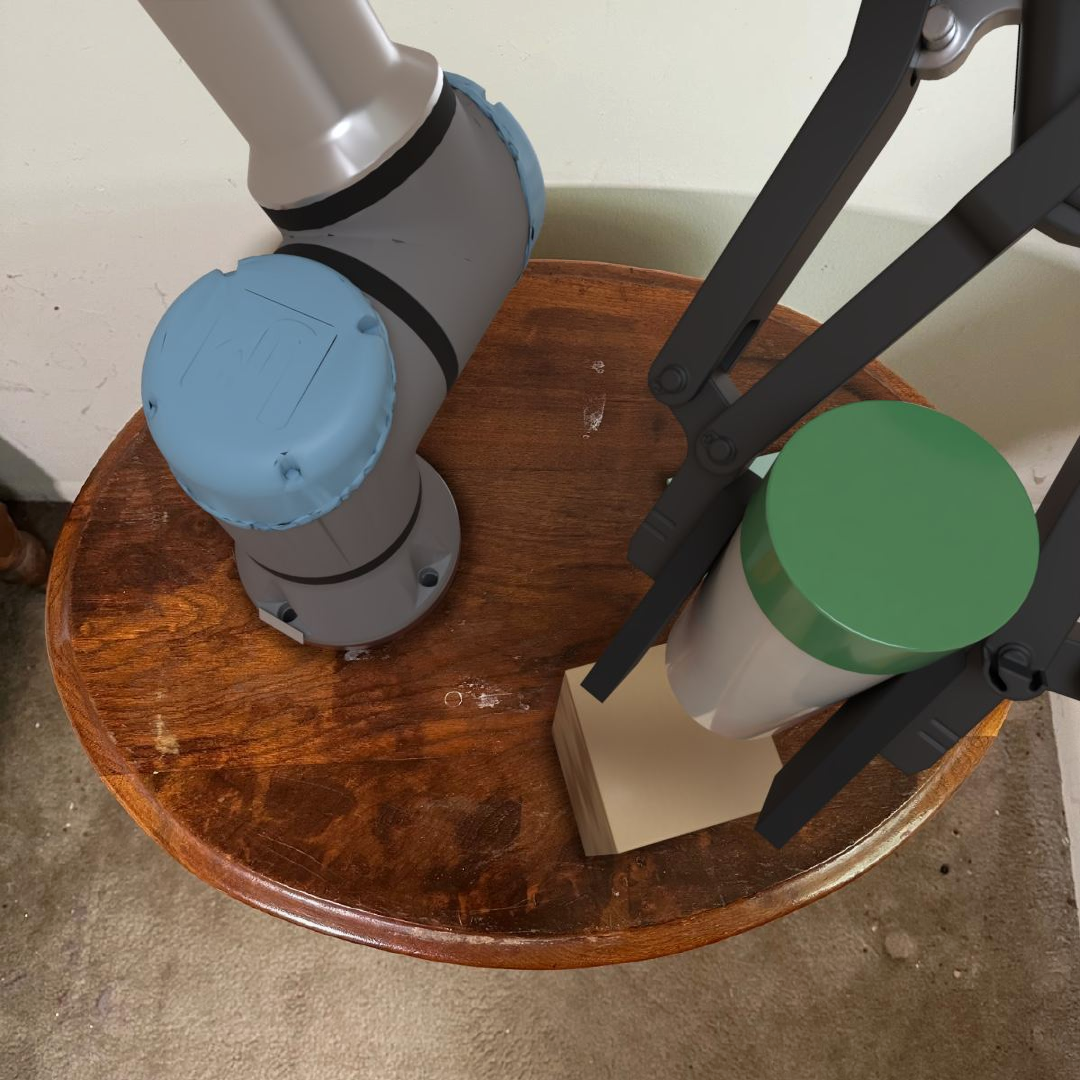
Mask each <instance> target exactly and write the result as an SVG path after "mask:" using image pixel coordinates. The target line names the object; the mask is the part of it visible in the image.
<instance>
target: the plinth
mask: <svg viewBox="0 0 1080 1080" xmlns="http://www.w3.org/2000/svg"><path fill="white" fill-rule="evenodd" d="M666 644H667V642H666V643H663V644H659V645H654V646H651V647H650V649H649V650H648V651H647V653H646V654H645V655H644V656H643V658H642V659H641V660H640V662H639V663H638V664H637V665H636V667H635V668H634V669H633V670H632V671H631V672H630V673H629V674H628V676H627V677H626V678H625V679H624V680H623V681H622V682H621V683H620V684H619V686H618V687H617V688H616V689H615V690H614V691H613V692H612V693H611V694H610V696H609V697H608V698H607V699H606V700H605V701H604V702H603V703H601V702H600V701H598V700H597V699H596V698H595V697H594V696H592V695H591V694H590V693H589V692H588V691H586V690H585V689H584V688H583V687H582V686H580V684H581V682H582V681H583V680H584V678H585V677H586V676H587V674H588V673H589V672H590V670H591V669H592V667H593V666H594V665H595V663H596V662H597V661H595V662H591V663H588V664H584V665H581V666H577V667H573V668H569V669H566V670H565V671H564V674H563V679H562V681H561V682H562V683H561V688H560V691H559V696H558V699H557V704H556V709H555V713H554V717H553V721H552V726H551V729H550V730H551V735H552V738H553V742H554V745H555V749H556V753H557V756H558V760H559V764H560V767H561V770H562V775H563V778H564V783H565V785H566V789H567V793H568V796H569V799H570V804H571V807H572V811H573V815H574V818H575V822H576V825H577V828H578V833H579V836H580V840H581V844H582V848H583V850H584V854H585V857H593V856H607V855H616V854H623V853H626V852H629V851H632V850H636V849H639V848H642V847H645V846H649V845H652V844H656V843H659V842H663V841H666V840H669V839H673V838H676V837H679V836H683V835H686V834H690V833H693V832H696V831H699V830H704V829H707V828H709V827H710V828H711V827H713V826H716V825H720V824H723V823H726V822H730V821H733V820H736V819H740V818H743V817H747V816H750V815H753V814H756V813H760V812H761V810H762V807H763V804H764V802H765V799H766V797H767V794H768V792H769V789H770V787H771V784H772V781H773V779H774V776H775V775H776V774H777V773H778V772H779V771H780V770H781V768H782V767H783V766H784V765H783V763H782V760H781V757H780V755H779V752H778V750H777V747H776V744H775V741H774V738H773V735H772V736H769V737H766V738H761V739H754V740H741V739H734V738H729V737H725V736H722V735H719V734H717V733H714V732H712V731H710V730H708V729H707V728H705V727H704V726H702V725H701V724H699V723H698V722H697V721H695V720H694V719H693V718H692V717H691V716H690V715H689V714H688V713H687V712H686V711H685V710H684V709H683V707H682V706H681V705H680V703H679V702H678V700H677V699H676V697H675V695H674V693H673V691H672V689H671V686H670V684H669V681H668V677H667V673H666V665H665V651H666Z"/></svg>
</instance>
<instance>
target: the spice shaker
mask: <svg viewBox="0 0 1080 1080" xmlns="http://www.w3.org/2000/svg"><path fill="white" fill-rule="evenodd" d="M778 452H779V454H778V456H777V457H776V459H775V460H774V462H773V463H772V465H771V467H770V468H769V470H768V471H767V473H766V475H765V476H764V478H763V479H762V481H761V482H760V484H759V486H758V487H757V489H756V490H755V492H754V493H753V495H752V497H751V499H750V501H749V503H748V505H747V508H746V510H745V514H744V517H743V519H742V521H741V522H740V524H739V525H738V527H737V528H736V530H735V531H734V533H733V534H732V536H731V537H730V539H729V541H728V542H727V544H726V545H725V547H724V548H723V550H722V551H721V553H720V554H719V556H718V557H717V559H716V561H715V562H714V564H713V565H712V567H711V568H710V570H709V571H708V573H707V574H706V576H705V577H704V579H703V580H701V582H700V583H699V584H698V586H697V587H696V589H695V590H694V592H693V593H692V595H691V596H690V598H689V600H688V601H687V603H686V605H685V606H684V608H683V609H682V611H681V613H680V614H679V615H678V617H677V619H676V620H675V622H673V623H674V624H673V625H672V626H671V630H670V632H669V634H668V637H667V641H666V643H667V644H666V643H665V644H666V651H665V665H666V673H667V677H668V681H669V684H670V686H671V689H672V691H673V693H674V695H675V697H676V699H677V700H678V702H679V703H680V705H681V706H682V707H683V709H684V710H685V711H686V712H687V713H688V714H689V715H690V716H691V717H692V718H693V719H694V720H695V721H697V722H698V723H699V724H701V725H702V726H704V727H705V728H707V729H708V730H710V731H712V732H714V733H717V734H719V735H722V736H725V737H729V738H734V739H741V740H754V739H761V738H766V737H769V736H772V737H773V736H775V735H778V734H779V733H781V732H784V731H785V730H788V729H790V728H792V727H794V726H795V725H798V724H800V723H802V722H804V721H806V720H808V719H810V718H812V717H814V716H816V715H818V714H821V713H822V712H825V711H826V710H828V709H830V708H832V707H835V706H836V705H838V704H840V703H842V702H846V700H847V699H849V698H851V697H853V696H855V695H857V694H859V693H861V692H863V691H865V690H867V689H869V688H871V687H873V686H875V685H877V684H879V683H881V682H883V681H885V680H887V679H889V678H891V677H893V676H895V675H897V674H900V673H905V672H910V671H914V670H917V669H920V668H922V667H925V666H928V665H930V664H932V663H934V662H936V661H938V660H940V659H942V658H945V657H947V656H949V655H951V654H953V653H955V652H957V651H959V650H961V649H963V648H966V647H968V646H970V645H972V644H974V643H976V642H978V641H980V640H982V639H984V638H986V637H987V636H989V635H991V634H993V633H994V632H995V631H997V630H998V629H999V628H1001V627H1002V626H1003V625H1005V624H1006V623H1007V622H1008V621H1009V620H1010V619H1011V618H1012V617H1013V616H1014V615H1015V613H1016V612H1017V611H1018V610H1019V608H1020V607H1021V605H1022V604H1023V602H1024V601H1025V599H1026V597H1027V595H1028V593H1029V591H1030V589H1031V587H1032V585H1033V582H1034V578H1035V575H1036V571H1037V567H1038V559H1039V532H1038V526H1037V520H1036V516H1035V513H1036V512H1035V510H1034V507H1033V504H1032V501H1031V498H1030V496H1029V495H1028V492H1027V490H1026V487H1025V486H1024V484H1023V483H1022V481H1021V479H1020V477H1019V475H1018V474H1017V473H1016V471H1015V470H1014V468H1013V467H1012V466H1011V464H1010V463H1009V462H1008V461H1007V459H1006V458H1005V457H1004V456H1003V455H1002V454H1001V453H1000V452H999V451H998V450H997V448H995V447H994V445H993V444H992V443H990V442H989V441H988V440H987V439H985V437H983V436H982V435H981V434H980V433H978V432H977V431H975V430H974V429H972V428H971V427H970V426H968V425H967V424H965V423H963V422H961V421H960V420H958V419H956V418H954V417H952V416H950V415H948V414H946V413H943V412H941V411H939V410H936V409H933V408H931V407H927V406H925V405H921V404H917V403H912V402H907V401H902V400H893V399H892V400H890V399H871V400H870V399H868V400H861V401H854V402H849V403H846V404H843V405H838V406H835V407H833V408H830V409H828V410H825V411H824V412H822V413H820V414H818V415H816V416H814V417H813V418H811V419H810V420H808V421H807V422H805V423H804V424H802V426H801V427H799V428H798V429H796V431H794V433H792V435H790V437H789V438H788V440H787V441H786V442H785V443H784V445H783V446H782V448H781V449H780V451H778Z"/></svg>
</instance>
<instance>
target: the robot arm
mask: <svg viewBox="0 0 1080 1080" xmlns="http://www.w3.org/2000/svg"><path fill="white" fill-rule="evenodd" d="M137 2H138V3H139V4H140V6H141V7H142V8H143V10H144V11H145V12H146V14H147V15H148V16H149V18H151V20H152V21H153V22H154V24H155V25H156V26H157V28H158V30H160V31H161V33H162V34H163V36H165V38H166V39H167V41H168V42H169V43H170V44H171V46H172V47H173V48H174V50H175V51H176V52H177V54H178V55H179V56H180V57H181V59H182V60H183V61H184V62H185V64H186V65H187V66H188V68H189V69H190V70H191V72H192V73H193V74H194V75H195V76H196V78H197V80H198V81H199V82H200V83H201V84H202V85H203V87H204V88H205V90H206V91H207V92H208V94H209V95H210V96H211V97H212V98H213V100H214V101H215V103H216V104H217V105H218V106H219V108H221V110H222V112H223V113H224V114H225V115H226V117H227V118H228V120H230V122H231V123H232V124H233V126H234V127H235V128H236V130H237V131H238V132H239V134H241V136H242V137H243V139H244V140H245V141H246V142H247V144H248V146H249V153H248V165H247V175H246V176H247V177H246V184H247V189H248V192H249V194H250V195H251V196H252V198H253V199H254V201H255V202H256V203H257V205H258V206H259V207H260V208H261V209H262V211H263V212H264V214H266V215H267V217H268V218H269V219H270V221H271V222H272V223H273V225H274V226H275V227H276V229H278V231H279V233H280V234H281V236H282V241H280V243H279V245H278V246H277V248H276V249H275V250H274V251H273V253H271V254H269V253H267V254H260V255H251V256H248V257H244V258H241V259H238V260H237V267H236V269H234V270H231V271H227V272H223V271H222V270H221V269H220V268H215V269H213V270H210V271H209V272H207V273H205V274H204V275H202V276H201V277H199V278H197V279H196V280H195V281H194V282H192V283H191V284H190V285H189V286H187V287H186V288H185V289H184V290H183V291H182V292H181V293H180V294H179V295H178V296H177V297H176V298H175V299H174V300H173V301H172V303H171V304H170V305H169V306H168V308H167V309H166V311H165V312H164V313H163V315H162V316H161V318H160V320H159V321H158V323H157V324H156V327H155V328H154V330H153V333H152V335H151V336H150V339H149V341H148V345H147V347H146V351H145V355H144V359H143V364H142V369H141V379H140V380H141V381H140V392H141V393H140V394H141V396H140V397H141V403H142V409H143V413H144V416H145V419H146V424H147V427H148V429H149V432H150V435H151V437H152V439H153V442H154V443H155V445H156V446H157V448H158V450H159V451H160V453H161V455H162V456H163V458H164V460H165V461H166V462H167V465H168V467H169V469H170V472H171V473H172V474H173V477H174V478H175V480H176V481H177V482H178V484H179V485H180V487H181V488H182V489H183V491H184V492H185V493H186V494H187V495H188V496H189V497H190V498H191V500H192V501H194V502H195V504H197V505H198V506H199V507H200V508H201V509H202V510H204V511H205V512H207V513H208V514H210V515H211V516H212V518H214V520H215V521H216V522H217V523H219V526H221V527H222V528H223V529H224V530H225V532H226V533H228V535H229V536H230V537H231V538H232V540H234V555H235V563H236V568H237V572H238V575H239V579H240V582H241V584H242V586H243V588H244V591H245V593H246V594H247V596H248V599H249V600H250V602H251V603H252V604H253V605H254V606H255V608H256V609H257V610H258V614H259V615H258V617H259V620H261V621H262V622H265V624H268V625H269V626H271V627H273V628H275V629H276V630H278V631H280V632H281V633H283V634H285V635H286V636H288V637H289V638H292V639H293V640H294V641H296V642H298V643H299V644H302V645H304V644H305V645H308V646H311V647H315V648H318V649H324V650H331V651H356V650H365V649H369V648H374V647H377V646H381V645H385V644H387V643H389V642H391V641H394V640H396V639H398V638H400V637H402V636H404V635H406V634H407V633H409V632H410V631H412V630H414V629H415V628H416V627H417V626H419V625H420V624H422V623H423V622H424V621H425V620H426V619H427V618H428V617H429V616H430V615H431V614H433V612H434V611H435V610H436V609H437V607H438V606H439V605H440V604H441V603H442V601H443V600H444V598H445V597H446V595H447V594H448V592H449V590H450V589H451V586H452V584H453V582H454V579H455V578H456V575H457V572H458V568H459V565H460V560H461V554H462V529H461V523H460V518H459V512H458V508H457V506H456V502H455V499H454V497H453V495H452V493H451V491H450V489H449V487H448V485H447V484H446V482H445V481H444V480H443V478H442V477H441V475H440V474H439V472H437V471H436V470H435V468H434V467H433V466H432V465H431V464H430V463H429V462H427V460H425V459H424V458H423V457H422V456H420V455H419V454H417V453H416V452H417V450H418V447H419V446H420V442H421V441H422V439H423V437H424V436H425V434H426V433H427V430H428V429H429V427H430V426H431V424H432V422H433V420H434V419H435V417H436V415H437V413H438V411H439V410H440V408H441V407H442V405H443V403H444V401H445V399H446V397H447V396H448V394H449V392H450V391H451V389H452V387H453V386H454V384H456V382H457V380H458V379H459V377H460V375H461V373H462V372H463V370H464V369H465V367H466V365H467V364H468V362H469V360H470V359H471V357H472V355H473V354H474V352H475V350H476V348H477V347H478V346H479V343H480V342H481V340H482V339H483V337H484V335H486V332H487V331H488V329H489V327H490V325H491V324H492V322H493V321H494V320H495V317H496V315H497V314H498V312H499V311H500V309H501V308H502V305H503V304H504V302H505V301H506V299H507V297H508V296H509V294H510V292H511V291H512V290H513V289H514V288H515V287H516V286H517V284H518V283H519V281H520V280H521V279H522V276H523V273H524V271H525V270H526V268H527V267H528V263H529V261H530V257H531V254H532V251H533V248H534V246H535V244H536V242H537V240H538V238H539V236H540V234H541V230H542V228H543V225H544V219H545V214H546V199H547V198H546V186H545V179H544V175H543V171H542V168H541V164H540V160H539V158H538V156H537V152H536V151H535V149H534V146H533V144H532V142H531V140H530V139H529V136H528V134H527V133H526V131H525V129H524V128H523V127H522V125H521V124H520V122H519V121H518V120H517V119H516V116H514V115H513V113H512V112H511V111H510V110H509V108H508V107H506V105H505V104H503V103H502V101H497V102H496V103H495V104H493V103H491V102H490V101H488V99H487V97H486V96H487V95H486V88H484V87H482V86H481V85H480V84H478V83H477V82H476V81H474V80H472V79H470V78H468V77H465V76H464V75H461V74H458V73H454V72H450V71H446V70H443V69H442V66H441V63H439V61H438V59H437V58H436V57H435V56H434V54H432V53H431V52H428V51H427V50H424V49H420V48H416V47H413V46H409V45H405V44H402V43H399V42H395V41H393V40H391V38H390V37H389V35H388V33H387V31H386V29H385V28H384V26H383V24H382V22H381V20H380V19H379V17H378V15H377V14H376V11H375V10H374V8H373V7H372V5H371V3H370V1H369V0H137ZM1004 26H1018V27H1017V28H1018V29H1017V45H1016V59H1015V60H1016V61H1015V75H1014V90H1013V106H1012V107H1013V108H1012V109H1013V110H1012V121H1011V122H1012V123H1011V137H1010V138H1011V139H1010V140H1011V141H1010V151H1009V155H1008V156H1007V157H1006V158H1005V159H1003V161H1001V162H1000V163H999V164H998V165H997V166H996V167H995V168H993V169H992V170H991V171H990V172H989V173H988V174H987V175H985V176H984V178H982V179H981V180H980V181H979V182H977V184H975V185H974V187H972V188H971V189H970V190H969V191H968V192H967V193H966V194H965V195H963V196H962V197H961V199H959V200H958V201H957V202H956V203H955V204H954V206H953V207H952V208H951V209H950V210H948V212H947V213H946V214H945V215H944V216H942V217H941V219H939V220H938V221H937V222H936V223H935V224H934V225H933V226H931V227H930V228H929V229H928V230H927V231H926V232H925V233H924V234H923V235H921V236H920V237H919V238H918V239H917V240H916V241H915V242H913V243H912V244H911V245H910V246H909V247H908V248H907V249H906V250H904V251H903V252H902V253H901V254H900V255H899V256H898V257H897V258H895V259H894V260H893V261H892V262H891V263H890V264H889V265H888V266H886V268H884V269H883V270H882V271H881V272H879V273H878V274H877V275H876V276H875V277H874V278H873V279H872V280H870V281H869V282H868V283H867V284H866V285H865V286H863V288H862V289H861V290H859V291H858V292H857V293H856V294H855V295H853V296H852V297H851V298H850V299H849V300H848V301H847V302H846V303H844V305H842V306H841V307H840V308H838V309H837V311H835V312H834V313H833V314H832V315H831V316H830V317H829V318H828V319H826V320H825V321H824V322H823V323H822V324H821V325H820V326H819V327H818V328H816V329H815V330H814V331H813V332H812V333H811V334H809V336H807V337H806V338H805V339H804V340H803V341H802V342H801V343H799V344H798V345H797V346H796V347H795V348H794V349H793V350H791V351H790V352H789V353H788V354H787V355H786V356H785V357H784V358H783V359H781V360H780V361H779V362H778V363H777V364H776V365H774V366H773V367H772V368H771V369H770V370H769V371H767V372H766V374H764V375H763V376H762V377H761V378H760V379H759V380H757V382H755V383H754V384H753V385H752V386H751V387H749V388H748V389H747V390H746V391H745V392H744V393H743V394H741V393H740V391H739V390H738V388H737V387H736V385H735V384H734V383H733V381H732V379H731V378H730V377H729V375H730V374H731V372H732V371H733V369H735V366H736V365H737V363H738V362H739V360H740V359H741V357H742V356H743V355H744V353H745V351H746V350H747V349H748V348H749V346H750V344H752V342H753V340H754V338H755V337H756V336H757V334H758V333H759V331H760V329H761V328H762V327H763V326H764V324H765V322H766V321H767V319H768V318H769V316H771V314H772V312H773V311H774V310H775V307H777V305H778V303H779V302H780V301H781V299H782V298H783V296H784V294H786V292H787V290H788V289H789V287H790V286H791V284H792V283H793V282H794V280H795V278H796V277H797V276H798V274H799V273H800V271H801V270H802V268H803V267H804V266H805V264H806V263H807V261H808V259H809V258H810V257H811V255H812V254H813V252H814V251H815V249H816V248H817V247H818V245H819V243H820V242H821V241H822V239H823V238H824V237H825V235H826V233H827V232H828V230H829V229H830V228H831V226H832V224H833V223H834V221H835V220H836V218H837V217H838V215H839V214H840V213H841V211H842V210H843V208H844V207H845V205H846V204H847V202H848V201H849V200H850V198H851V197H852V195H853V194H854V192H855V191H856V189H857V188H858V187H859V185H860V183H861V182H862V181H863V179H864V178H865V177H866V175H867V173H868V172H869V170H870V169H871V167H872V166H873V164H874V163H875V161H876V160H877V159H878V157H879V156H880V154H881V153H882V151H883V150H884V148H885V147H886V146H887V144H888V143H889V141H890V140H891V138H892V137H893V135H894V133H895V132H896V130H897V129H898V127H899V126H900V123H901V122H902V121H903V119H904V117H905V116H906V114H907V112H908V110H909V108H910V105H911V103H912V102H913V99H914V98H915V96H916V93H917V92H918V89H919V86H920V83H921V81H929V82H930V81H940V80H942V79H946V78H948V77H950V76H951V75H953V74H954V73H956V72H957V71H958V70H959V69H960V68H961V67H962V66H963V65H964V64H965V62H967V59H968V58H969V56H970V54H971V53H972V51H973V50H974V47H975V46H976V45H977V43H978V42H980V40H981V39H983V37H984V36H986V35H987V34H989V33H991V32H992V31H994V30H996V29H999V28H1002V27H1004ZM1033 229H1035V230H1036V231H1038V232H1039V233H1041V234H1043V235H1044V236H1046V237H1048V238H1049V239H1051V240H1053V241H1055V242H1057V243H1058V244H1062V245H1067V246H1070V247H1074V248H1078V249H1080V0H861V2H860V5H859V9H858V12H857V15H856V19H855V23H854V26H853V29H852V34H851V36H850V40H849V44H848V47H847V51H846V54H845V56H844V58H843V60H842V61H841V63H840V64H839V66H838V68H837V69H836V71H835V72H834V74H833V76H832V77H831V79H830V81H829V82H828V83H827V85H826V87H825V88H824V90H823V92H822V93H821V94H820V96H819V97H818V99H817V101H816V103H815V104H814V105H813V107H812V109H811V111H810V112H809V114H808V115H807V117H806V118H805V120H804V121H803V123H802V125H801V127H800V128H799V130H798V131H797V133H796V134H795V136H794V137H793V139H792V141H791V142H790V144H789V145H788V147H787V148H786V150H785V152H784V153H783V155H782V156H781V158H780V160H779V161H778V163H777V164H776V166H775V168H774V169H773V170H772V172H771V174H770V175H769V177H768V178H767V181H766V182H765V183H764V185H763V187H762V189H761V190H760V191H759V193H758V195H757V196H756V198H755V200H754V201H753V202H752V204H751V206H750V207H749V209H748V211H747V212H746V214H745V215H744V217H743V219H742V220H741V222H740V223H739V224H738V227H737V228H736V230H735V231H734V233H733V234H732V236H731V238H730V239H729V241H728V243H727V244H726V245H725V247H724V249H723V250H722V252H721V253H720V255H719V256H718V258H717V259H716V262H715V263H714V264H713V266H712V268H711V270H710V271H709V273H707V276H706V278H705V279H704V281H703V282H702V283H701V285H700V286H699V289H698V290H697V291H696V293H695V295H694V297H693V298H692V300H691V301H690V303H689V305H688V306H687V308H686V309H685V311H684V312H683V314H682V316H681V317H680V318H679V320H678V322H677V323H676V324H675V326H674V328H673V330H672V331H671V333H670V335H669V336H668V338H667V340H666V341H665V343H664V344H663V346H662V347H661V349H660V350H659V352H658V354H657V355H656V357H655V358H654V360H653V362H652V363H651V364H650V368H649V370H648V373H647V386H648V389H649V392H650V395H651V396H652V397H653V398H654V399H655V400H656V401H657V402H658V403H660V404H662V405H664V406H667V407H668V409H669V410H670V411H671V414H673V415H672V416H674V418H675V420H677V422H678V423H679V425H680V427H681V428H682V430H683V432H684V434H685V438H686V446H687V447H686V448H687V450H686V454H685V458H684V460H683V462H682V464H681V465H680V466H679V468H678V470H677V471H676V472H675V474H674V476H672V477H671V478H672V480H671V481H670V483H669V484H668V485H666V487H665V489H664V490H663V491H662V493H661V495H660V496H659V497H658V498H657V501H656V502H655V503H654V505H653V506H652V507H651V509H650V510H649V512H648V513H647V515H646V516H645V518H644V519H643V521H642V522H641V524H640V525H639V527H638V528H637V529H636V531H634V534H633V535H632V537H631V538H630V540H629V544H628V550H627V555H626V561H628V562H629V563H630V564H631V565H632V566H634V567H636V568H637V569H638V570H640V572H642V573H643V574H645V575H646V576H647V577H648V578H649V579H651V580H652V581H654V582H653V584H652V585H651V586H650V587H649V589H648V591H647V592H646V593H645V594H644V596H643V597H642V599H641V600H640V601H639V603H638V604H637V606H636V607H635V608H634V610H633V611H632V612H631V614H630V615H629V616H628V618H627V619H626V620H625V622H624V623H623V625H622V626H621V627H620V629H619V630H618V632H617V633H616V635H615V636H614V637H613V638H612V640H611V641H610V643H608V646H607V647H606V648H605V650H604V651H603V652H602V654H601V655H600V656H599V658H598V659H597V661H595V662H596V663H595V662H594V663H595V665H594V666H593V667H592V669H591V670H590V672H589V673H588V674H587V676H586V677H585V678H584V680H583V681H582V682H581V684H580V686H582V687H583V688H584V689H585V690H586V691H588V692H589V693H590V694H591V695H592V696H594V697H595V698H596V699H597V700H598V701H600V702H601V703H603V702H604V701H605V700H606V699H607V698H608V697H609V696H610V694H611V693H612V692H613V691H614V690H615V689H616V688H617V687H618V686H619V684H620V683H621V682H622V681H623V680H624V679H625V678H626V677H627V676H628V674H629V673H630V672H631V671H632V670H633V669H634V668H635V667H636V665H637V664H638V663H639V662H640V660H641V659H642V658H643V656H644V655H645V654H646V653H647V651H648V650H649V649H650V648H651V647H653V645H654V644H655V643H656V641H657V639H658V638H659V637H660V636H661V634H662V633H663V632H664V630H665V629H666V628H667V626H668V625H669V624H670V622H672V620H673V618H674V617H675V616H676V615H677V613H678V612H679V611H680V610H681V609H682V607H683V606H684V605H685V603H686V601H688V599H689V598H690V597H691V596H692V595H693V593H694V592H695V591H696V589H697V588H698V586H699V585H700V583H701V582H702V579H703V578H704V577H705V575H706V574H707V573H708V571H709V570H710V568H711V567H712V565H713V564H714V562H715V561H716V559H717V557H718V556H719V554H720V553H721V551H722V550H723V548H724V547H725V545H726V544H727V542H728V541H729V539H730V537H731V536H732V534H733V533H734V531H735V530H736V528H737V527H738V525H739V524H740V522H741V521H742V519H743V517H744V514H745V510H746V508H747V505H748V503H749V501H750V499H751V497H752V495H753V493H754V492H755V490H756V489H757V487H758V486H759V484H760V482H761V481H762V479H763V478H761V477H760V476H759V475H757V474H756V473H754V472H753V471H752V470H750V469H749V467H750V466H751V465H752V463H753V462H754V460H755V459H756V458H757V457H759V456H761V454H762V453H764V452H765V451H766V450H768V448H770V447H771V446H772V445H773V444H775V443H776V442H777V441H778V440H779V439H780V438H782V437H783V436H784V435H785V434H786V433H788V432H789V431H790V430H791V429H793V428H794V427H795V426H797V424H799V423H800V422H801V421H802V420H804V419H805V418H806V417H807V416H809V415H810V413H812V412H813V411H814V410H815V409H817V408H818V407H820V405H822V404H823V403H824V402H825V401H827V400H828V399H829V398H830V397H831V396H832V395H834V394H835V393H836V392H837V391H838V390H840V389H841V388H842V387H843V386H845V385H846V384H847V383H849V381H851V380H852V379H853V378H854V377H855V376H857V375H858V374H859V373H860V372H861V371H863V370H864V369H865V368H866V367H867V366H869V365H870V364H871V363H872V362H873V361H875V360H876V359H877V358H878V357H880V356H881V355H882V354H883V353H884V352H886V351H887V350H888V349H889V348H890V347H892V346H893V345H894V344H895V343H897V342H898V341H899V340H901V338H902V337H904V336H905V335H906V334H907V333H909V332H910V331H911V330H912V329H914V328H915V327H916V326H917V325H918V324H920V322H922V321H923V320H924V319H925V318H927V317H928V316H929V315H930V314H931V313H933V312H934V311H935V310H936V309H938V307H940V306H941V305H943V304H944V303H945V302H946V301H948V300H949V299H950V298H951V297H952V296H954V295H955V294H956V293H957V292H958V291H960V289H962V288H963V287H964V286H965V285H966V284H968V283H969V282H970V281H972V280H973V279H974V278H975V277H976V276H977V275H979V274H980V273H981V272H982V271H984V270H985V269H986V268H987V267H989V265H991V264H992V263H993V262H994V261H996V260H997V259H998V258H999V257H1001V256H1002V255H1004V254H1005V253H1006V252H1007V251H1008V250H1009V249H1011V248H1012V247H1013V246H1014V245H1016V244H1017V243H1018V242H1019V241H1020V240H1021V239H1022V238H1024V237H1025V236H1027V234H1029V233H1030V232H1031V231H1032V230H1033ZM1034 513H1035V516H1036V520H1037V526H1038V532H1039V559H1038V567H1037V571H1036V575H1035V578H1034V582H1033V585H1032V587H1031V589H1030V591H1029V593H1028V595H1027V597H1026V599H1025V601H1024V602H1023V604H1022V605H1021V607H1020V608H1019V610H1018V611H1017V612H1016V613H1015V615H1014V616H1013V617H1012V618H1011V619H1010V620H1009V621H1008V622H1007V623H1006V624H1005V625H1003V626H1002V627H1001V628H999V629H998V630H997V631H995V632H994V633H993V634H991V635H989V636H987V637H986V638H984V639H982V640H980V641H978V642H976V643H974V644H972V645H970V646H968V647H966V648H963V649H961V650H959V651H957V652H955V653H953V654H951V655H949V656H947V657H945V658H942V659H940V660H938V661H936V662H934V663H932V664H930V665H928V666H925V667H922V668H920V669H917V670H914V671H910V672H905V673H900V674H897V675H895V676H893V677H891V678H889V679H887V680H885V681H883V682H881V683H879V684H877V685H875V686H873V687H871V688H869V689H867V690H865V691H863V692H861V693H859V694H857V695H855V696H853V697H851V698H849V699H847V700H845V701H844V702H843V703H842V704H841V705H840V707H839V708H838V709H837V710H836V711H835V712H834V713H833V714H832V715H831V716H830V717H829V718H828V719H827V720H826V721H825V722H824V723H823V724H822V725H821V726H820V728H818V730H817V731H816V732H815V733H813V735H812V736H811V737H810V738H809V739H808V740H807V741H806V742H805V743H804V744H803V745H802V746H801V748H799V749H798V751H797V752H795V754H794V755H793V756H792V757H791V758H790V759H789V760H788V761H787V762H786V763H785V764H784V765H783V767H782V768H781V770H780V771H779V772H778V773H777V774H776V775H775V776H774V779H773V781H772V784H771V787H770V789H769V792H768V794H767V797H766V799H765V802H764V804H763V807H762V810H761V811H760V812H759V814H758V817H757V820H756V823H755V825H754V828H753V830H754V831H755V832H756V833H757V834H759V835H760V836H761V837H762V838H763V839H765V840H766V842H768V843H769V844H771V845H772V846H773V847H774V848H775V849H777V850H778V851H780V850H781V849H782V848H783V847H784V846H785V845H786V844H787V843H788V842H789V841H790V840H792V838H793V837H795V836H796V835H797V834H798V832H800V831H801V830H802V829H803V828H804V827H805V826H806V825H807V824H808V823H809V822H810V821H811V820H812V819H813V818H814V817H815V816H816V815H817V814H818V813H820V811H822V809H823V808H825V806H827V804H828V803H830V802H831V800H832V799H833V798H835V796H837V795H838V794H839V793H840V792H841V791H842V790H843V788H845V787H846V786H847V785H848V784H849V783H850V782H851V781H852V780H853V779H854V778H855V777H856V776H857V775H858V774H859V773H860V772H861V771H862V770H864V769H865V767H867V765H868V764H869V763H870V762H872V760H874V758H876V757H877V756H878V755H879V756H881V757H882V758H883V759H884V760H885V761H887V762H888V763H889V764H891V766H893V767H895V768H896V769H897V770H899V771H900V772H901V773H902V774H904V775H905V776H906V777H910V776H912V775H916V774H918V773H921V772H923V771H926V770H929V769H932V767H934V765H935V764H936V763H937V762H938V761H940V760H941V759H942V758H943V757H944V756H945V755H946V754H947V753H948V752H949V751H951V750H952V749H953V748H954V747H955V746H956V745H958V744H959V742H960V740H961V739H964V738H965V737H966V736H967V735H968V734H969V733H970V732H972V730H973V729H974V728H976V726H978V725H980V723H981V722H982V721H983V720H984V719H985V718H987V716H989V715H990V714H991V713H992V712H993V711H994V710H995V709H996V708H998V706H999V705H1000V704H1001V703H1003V702H1004V701H1005V700H1009V701H1012V702H1028V701H1031V700H1033V699H1035V698H1039V697H1041V696H1042V695H1043V694H1044V693H1045V692H1046V691H1047V692H1051V693H1055V694H1058V695H1060V696H1063V697H1066V698H1069V699H1072V700H1075V701H1078V702H1080V622H1079V619H1080V434H1079V435H1078V437H1077V439H1076V440H1075V442H1074V444H1073V446H1072V448H1071V450H1070V451H1069V453H1068V455H1067V457H1066V459H1065V460H1064V462H1063V464H1062V465H1061V467H1060V469H1059V471H1058V472H1057V474H1056V476H1055V478H1054V480H1053V481H1052V483H1051V485H1050V487H1049V488H1048V490H1047V492H1046V494H1045V496H1044V497H1043V500H1042V501H1041V502H1040V505H1039V506H1038V508H1037V510H1036V512H1034Z"/></svg>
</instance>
